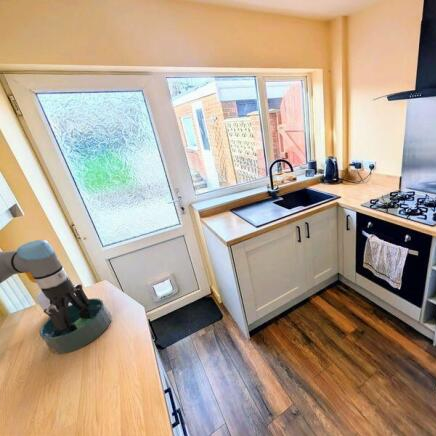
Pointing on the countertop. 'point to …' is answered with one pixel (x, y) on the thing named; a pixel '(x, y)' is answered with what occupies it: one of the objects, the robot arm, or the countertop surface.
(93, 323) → the bowl
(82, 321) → the sponge
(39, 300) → the soap bottle
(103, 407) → the countertop surface
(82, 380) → the countertop surface
